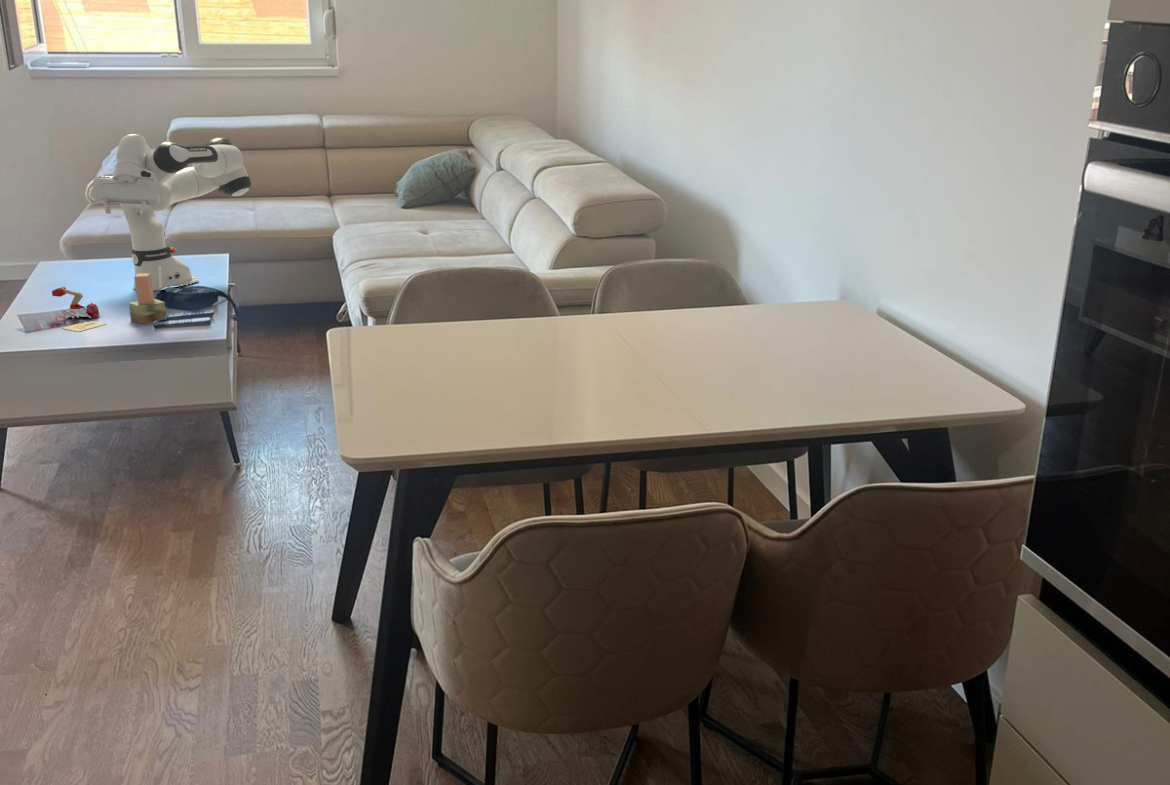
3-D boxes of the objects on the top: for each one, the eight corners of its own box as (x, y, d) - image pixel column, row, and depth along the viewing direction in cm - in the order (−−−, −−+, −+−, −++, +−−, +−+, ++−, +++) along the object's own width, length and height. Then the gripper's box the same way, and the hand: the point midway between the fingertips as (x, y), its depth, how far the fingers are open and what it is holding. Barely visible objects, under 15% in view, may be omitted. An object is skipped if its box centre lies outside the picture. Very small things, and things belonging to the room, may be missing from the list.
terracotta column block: (141, 300, 345) (137, 273, 342) (154, 300, 345) (150, 273, 342) (138, 304, 341) (134, 276, 338) (151, 303, 341) (147, 276, 338)
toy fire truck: (96, 319, 346) (91, 290, 343) (55, 318, 347) (50, 289, 344) (101, 316, 349) (96, 287, 346) (61, 315, 351) (56, 286, 347)
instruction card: (89, 320, 344) (89, 320, 344) (106, 324, 340) (105, 323, 340) (61, 328, 336) (61, 327, 336) (78, 332, 332) (78, 331, 332)
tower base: (154, 315, 350) (151, 297, 348) (167, 319, 345) (164, 302, 343) (131, 320, 344) (128, 302, 342) (143, 325, 340) (141, 306, 338)
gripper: (92, 169, 341) (86, 205, 336) (159, 174, 346) (155, 209, 340) (96, 181, 347) (90, 217, 341) (162, 185, 351) (158, 220, 345)
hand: (123, 213), depth 340 cm, fingers open, 8 cm apart
